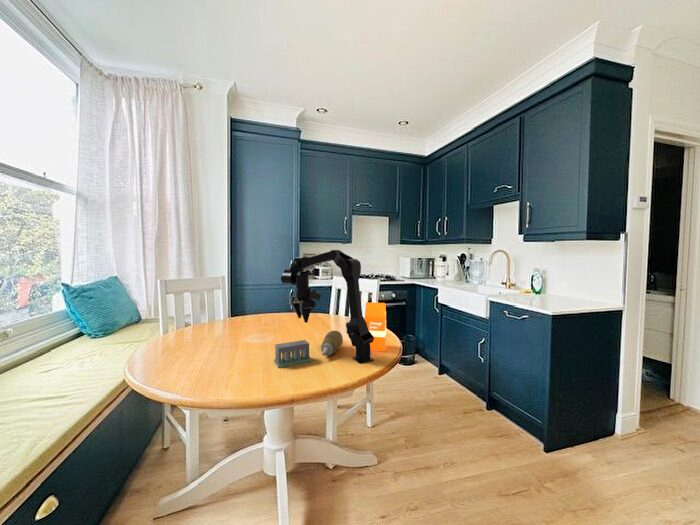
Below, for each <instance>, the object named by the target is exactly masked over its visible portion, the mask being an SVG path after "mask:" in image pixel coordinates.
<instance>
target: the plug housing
mask: <svg viewBox="0 0 700 525" xmlns="http://www.w3.org/2000/svg"><path fill="white" fill-rule="evenodd" d="M301 350H303V356H304V357H305V358H306V359H309V357H310V343H309V342H308V341H307V340H305V339H303V340H302V339H301V340H295V341H289V342H283V343H275V344H274V351H275V352H274V353H275V354H274V355H275V356H274V357H275V358H274V359H275V360H276V361H277V363H278V364H281V358H282V353H285V359H286V360H287V361H288V362H291V356H292V352H291V351H294V357H295V358H296V359H297V360H298V361H299V360H300V355H301Z"/></svg>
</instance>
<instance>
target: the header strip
mask: <svg viewBox="0 0 700 525" xmlns="http://www.w3.org/2000/svg"><path fill="white" fill-rule="evenodd" d="M273 362H274V364H275V365H276V366H277V368H278V369H279V368H285V367H290V366H296V365H301V364H306V363H312V362H313V359H312V358H311V357H310V356H309V359H306V358H305V357H304V356H303V350H300V360H299V361H298V360H297V359H296V358H295V357H294V351H291V362H288V361H287V360H286V359H285V353H281V364H278V363H277V361H276V360H275V358H274V359H273Z"/></svg>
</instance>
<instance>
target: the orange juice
mask: <svg viewBox="0 0 700 525" xmlns="http://www.w3.org/2000/svg"><path fill="white" fill-rule="evenodd" d="M386 308H387V307H386V303H385V302H365V310H364V316H363V318H364V319H365V321H366V323H367V326H368V330H369V332H370V333H371V334H372V335H373V336H374V340H373V342H371V343H370V351H377V352H378V351H379V352H385V351H386V347H387V310H386Z"/></svg>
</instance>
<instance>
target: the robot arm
mask: <svg viewBox="0 0 700 525" xmlns="http://www.w3.org/2000/svg"><path fill="white" fill-rule="evenodd" d="M332 261H333V263H334V264H335V266H337V268H340V272H341V275H342V277H343V279H344V280H345V283H346V290H347V299H348V300H347V301H348V306H349V308H348V309H349V314H350V315H349V316H350V319H349V321H348V322H345V327H346V334H347V336H348V338H349V340H350V342H351V346H352V347H355V356H352V357H351V359H353V360H354V361H356V362H357V363H358V364H363V363H369V362H373V361H375V359H374V358H372V357H371V350H370V343H371V342H373V340H374V336H373V335H372V334H371V333H370V332H369V330H368V326H367V323H366V321H365V319H364V316H363V310H362V308H363V307H362V301H361V300H362V299H361V291H360V283H359V280H360V276H361V272H362V265H361V261H360V260H358V259H357V258H353V257H352V256H350V255H349V254H346V253H344V252H343V251H342V250H340V249H331V250H329V251H326V252H322V253H319V254H315V255H312V256H300V257H299V256H298V257H295V258H294V259H293V262H292V264H291V266H290V268H289V269H284V270H283V273H282V274H281V277H280V281H281V283H282V284H283V285H290V286H292V285H293V286H295V287H294V290H295V294H294V295H291V296H290V298H289V299H290V303H291V305H292V307H293V309H294V312H295V314H296V316H297V318H298V319H303V321H304V323H306V324H307V323H308V321H309V319H310V314H311V311H312V310H314V309H315V308H316V307H317V302H316V301H318V302H320V301H321V298H322V294H321V293H320V292H317V290H316V289H314V288H313V289H311V287H310V282H309V281H310V279H309V278H310V277H309V276H313V275H314V274H313V272H311V271H310V269H312V268H314V266H317V265H319V264H325V263H328V262H332ZM315 300H316V301H315Z"/></svg>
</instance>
